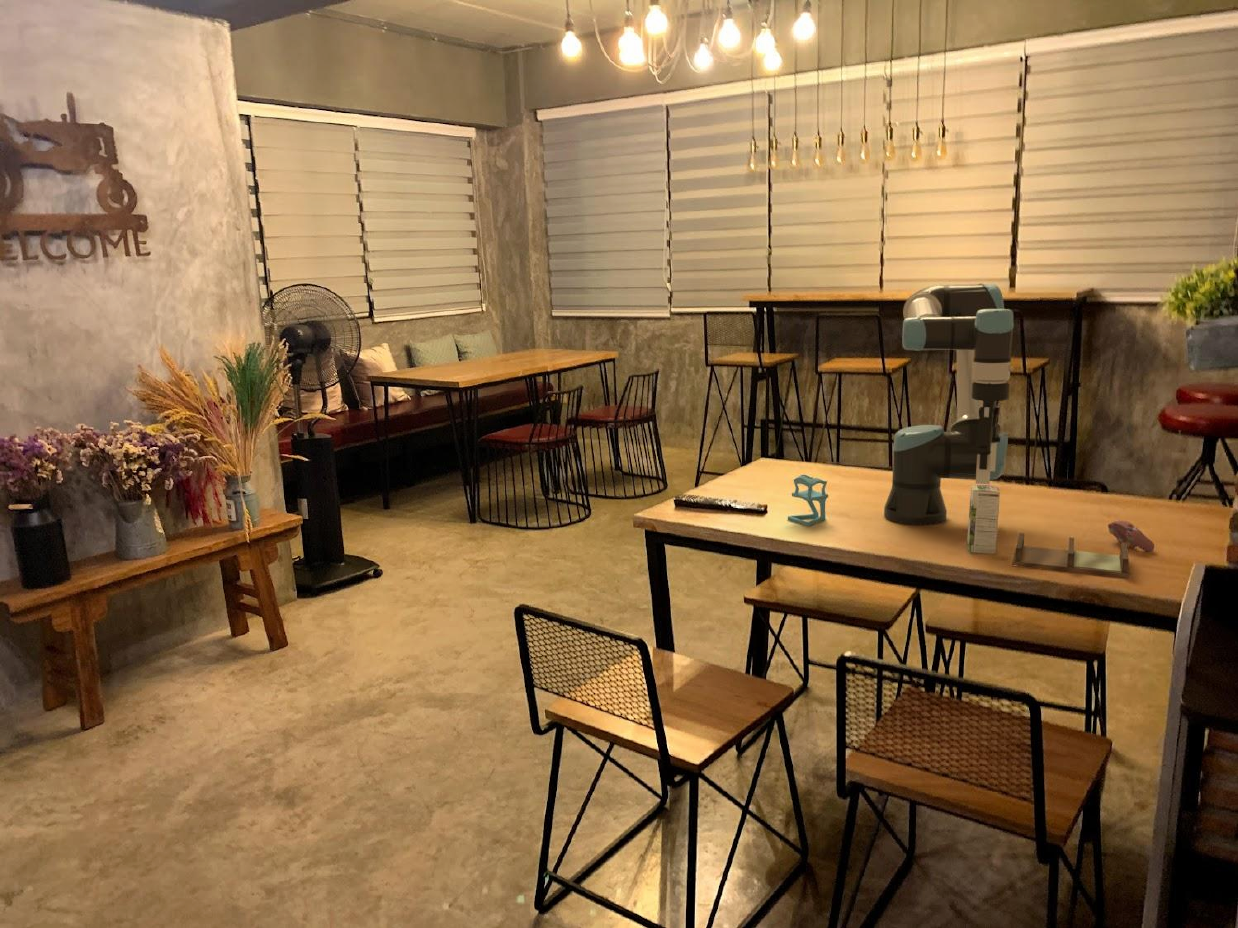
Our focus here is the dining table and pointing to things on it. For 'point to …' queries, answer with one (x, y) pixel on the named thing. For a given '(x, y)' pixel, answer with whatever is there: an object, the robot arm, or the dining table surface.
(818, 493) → the chair
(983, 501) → the syrup box
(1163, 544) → the dining table surface
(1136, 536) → the video game controller
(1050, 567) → the slot rack
